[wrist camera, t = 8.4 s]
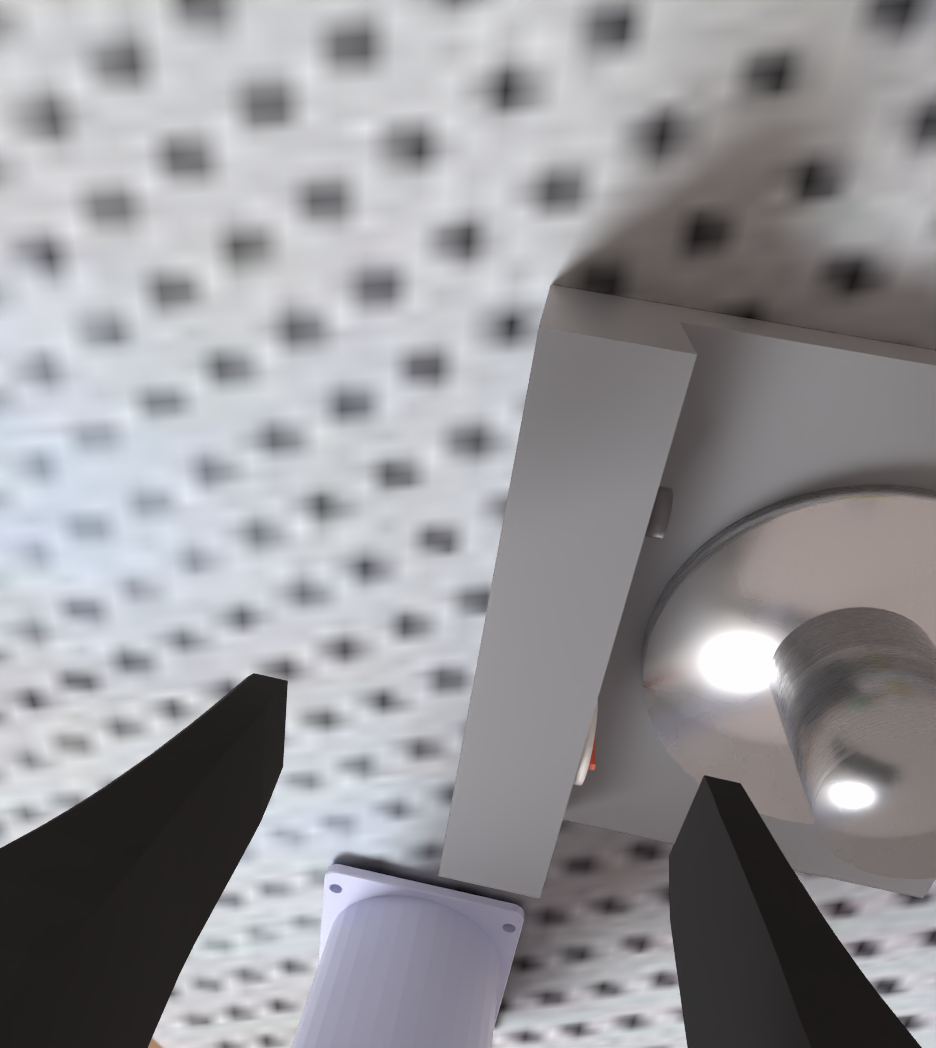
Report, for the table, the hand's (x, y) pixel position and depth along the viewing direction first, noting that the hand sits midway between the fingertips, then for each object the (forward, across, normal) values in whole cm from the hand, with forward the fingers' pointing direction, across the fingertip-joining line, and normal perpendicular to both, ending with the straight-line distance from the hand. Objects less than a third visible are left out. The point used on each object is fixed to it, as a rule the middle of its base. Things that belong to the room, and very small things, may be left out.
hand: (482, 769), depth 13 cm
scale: (+10, -7, +1) cm, 12 cm away
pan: (+8, -9, +1) cm, 12 cm away
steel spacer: (+7, -9, +1) cm, 11 cm away
